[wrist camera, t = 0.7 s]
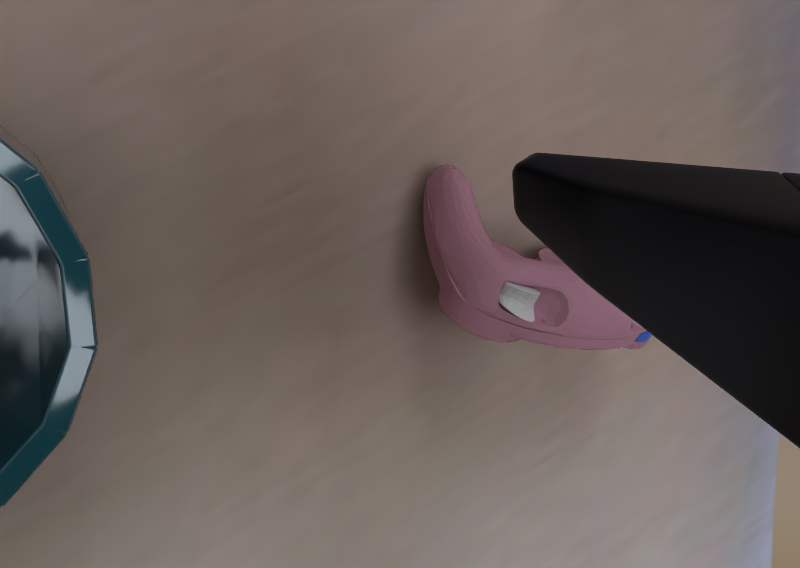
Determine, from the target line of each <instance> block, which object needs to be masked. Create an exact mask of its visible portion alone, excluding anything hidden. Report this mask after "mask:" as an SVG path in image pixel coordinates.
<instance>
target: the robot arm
mask: <svg viewBox="0 0 800 568" xmlns="http://www.w3.org/2000/svg"><path fill="white" fill-rule="evenodd" d="M512 178H513V195H514V208H515V212H516V214H517V216H518V218H519V219H520V221H521V222H522V223H523V224H524V225H525V226H526V227H527V228H528V229H529V230H530V231H531V232H532V233H533V234H534V235H535V236H536V237H537V238H539V239H540V240H541V241H542V242H543V243H544V244H545V245H546V246H547V247H548V248H549V249H550V250H551V251H552V252H553V253H554V254H555V255H556V256H557V257H558V258H559V259H561V260H562V261H563V262H564V263H565V264H566V265H567V266H568V267H569V268H570V269H571V270H572V271H573V272H574V273H575V274H576V275H577V276H578V277H580V278H581V279H582V280H583V281H584V282H585V283H586V284H588V285H589V286H590V287H591V288H592V289H594V290H595V291H596V292H597V293H599V294H600V295H601V296H603V297H604V298H605V299H606V300H608V301H609V302H610V303H612V304H613V305H614V306H616V307H617V308H618V309H619V310H621V311H622V312H623V313H625V314H626V315H627V316H629V317H630V318H631V319H632V320H634V321H635V322H636V323H638V324H639V325H640V326H642V327H643V328H644V329H645V330H647V331H648V332H649V333H651V334H652V335H653V336H655V337H656V338H657V339H658V340H660V341H661V342H662V343H664V344H665V345H666V346H668V347H669V348H670V349H671V350H673V351H674V352H675V353H677V354H678V355H679V356H681V357H682V358H683V359H684V360H686V361H687V362H688V363H690V364H691V365H692V366H694V367H695V368H696V369H697V370H699V371H700V372H701V373H703V374H704V375H705V376H707V377H708V378H709V379H710V380H712V381H713V382H714V383H716V384H717V385H718V386H720V387H721V388H722V389H723V390H725V391H726V392H727V393H729V394H730V395H731V396H733V397H734V398H735V399H736V400H738V401H739V402H740V403H742V404H743V405H744V406H746V407H747V408H748V409H749V410H751V411H752V412H753V413H755V414H756V415H757V416H759V417H760V418H761V419H763V420H764V421H765V422H766V423H768V424H769V425H770V426H772V427H773V428H774V429H776V430H777V431H778V432H779V433H781V434H782V435H784V436H785V437H786V438H787V439H789V440H790V441H791V442H793V443H794V444H795V445H796V446H798V447H799V448H800V174H797V173H782V174H780V173H779V172H772V171H759V170H747V169H734V168H722V167H710V166H697V165H685V164H673V163H660V162H648V161H635V160H623V159H611V158H598V157H586V156H574V155H561V154H549V153H534V154H532V155H530V156H528V157H527V158H525V159H524V160H522V161H521V162H519V163H518V164H516V165H515V167H514V169H513V172H512Z"/></svg>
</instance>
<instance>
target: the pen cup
mask: <svg viewBox="0 0 800 568" xmlns="http://www.w3.org/2000/svg"><path fill="white" fill-rule="evenodd" d="M97 345H98V340H97V330H96V320H95V310H94V299H93V289H92V279H91V268H90V260H89V257H88V253H87V251H86V249H85V247H84V245H83V243H82V241H81V239H80V236H79V234H78V232H77V230H76V228H75V226H74V224H73V222H72V220H71V217H70V215H69V213H68V211H67V209H66V207H65V205H64V203H63V201H62V199H61V196H60V195H59V193H58V191H57V189H56V187H55V186H54V184H53V182H52V180H51V179H50V177H49V175H48V173H47V172H46V170H45V168H44V166H43V165H42V163H41V161H40V159H39V158H38V156H37V155H36V154H35V152H34V151H32V150H31V149H30V148H29V147H27V146H26V145H25V144H24V143H22V142H21V141H20V140H19V139H18V138H17V137H16V136H14V135H13V134H11V133H10V132H9V131H8V130H7V129H5V128H4V127H3V126H2V125H0V508H1V506H4V505H5V504H6V503H7V502H8V501H9V500H10V499H11V497H12V496H13V495H14V494H15V493H16V492H17V491H18V490H19V488H20V487H21V486H22V485H23V484H24V483H25V482H26V480H27V479H28V478H29V477H30V476H31V475H32V474H33V473H34V471H35V470H36V469H37V468H38V467H39V466H40V465H41V463H42V462H43V461H44V460H45V459H46V458H47V457H48V456H49V454H50V453H51V452H52V451H53V450H54V449H55V448H56V446H57V445H58V444H59V443H60V442H61V441H62V440H63V439H64V437H65V436H66V434H67V432H68V431H69V430H70V427H71V424H72V421H73V418H74V415H75V412H76V410H77V407H78V404H79V401H80V398H81V395H82V392H83V389H84V387H85V384H86V381H87V378H88V375H89V372H90V369H91V366H92V363H93V361H94V358H95V355H96V352H97V347H96V346H97Z"/></svg>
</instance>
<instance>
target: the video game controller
mask: <svg viewBox="0 0 800 568" xmlns="http://www.w3.org/2000/svg"><path fill="white" fill-rule="evenodd" d="M423 223H424V234H425V239H426V243H427V248H428V252H429V256H430V259H431V262H432V265H433V268H434V271H435V273H436V276H437V279H438V282H439V285H440V293H439V303H440V305H441V307H442V309H443V311H444V312H445V314H446V315H447V316H448V317H449V318H450V319H451V320H452V321H453V322H454V323H456V324H457V325H458V326H460V327H461V328H463V329H465V330H467V331H469V332H470V333H472V334H475V335H477V336H480V337H482V338H484V339H487V340H492V341H496V342H511V341H517V340H519V339H522V340H526V341H530V342H535V343H540V344H545V345H550V346H555V347H562V348H572V349H584V350H597V349H613V348H621V347H623V348H628V349H637V348H641V347H644V346H645V345H646V343H647V342H648V340H649V339H650V337H651V335H652V334H651V333H649V332H648V331H647V330H645V329H644V328H643V327H642V326H640V325H639V324H638V323H636V322H635V321H634V320H632V319H631V318H630V317H629V316H627V315H626V314H625V313H623V312H622V311H621V310H619V309H618V308H617V307H616V306H614V305H613V304H612V303H610V302H609V301H608V300H606V299H605V298H604V297H603V296H601V295H600V294H599V293H597V292H596V291H595V290H594V289H592V288H591V287H590V286H589V285H588V284H586V283H585V282H584V281H583V280H582V279H581V278H580V277H578V276H577V275H576V274H575V273H574V272H573V271H572V270H571V269H570V268H569V267H568V266H567V265H566V264H565V263H564V262H563V261H562V260H561V259H559V258H558V257H557V256H556V255H555V254H554V253H553V252H552V251H551V250H550V249H549V248H544V249H541V250H540V251H539V253H538V255H537V257H536V259H530V258H525V257H521V256H520V255H519V254H518V253H517V252H515V251H514V250H512V249H511V248H509V247H506V246H504V245H502V244H499V243H496V242H492V241H490V239H489V238H488V235H487V233H486V230H485V228H484V226H483V223H482V221H481V218H480V215H479V212H478V209H477V205H476V202H475V199H474V196H473V193H472V190H471V187H470V185H469V183H468V181H467V180H466V178H465V177H464V175H463V174H462V172H461V171H460V170H459V169H458V168H457V167H455V166H452V165H448V164H445V165H441V166H439V167H438V168H436V169H435V171H434V172H433V173H432V174H431V175H430V177H429V179H428V181H427V184H426V188H425V193H424V202H423Z"/></svg>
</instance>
